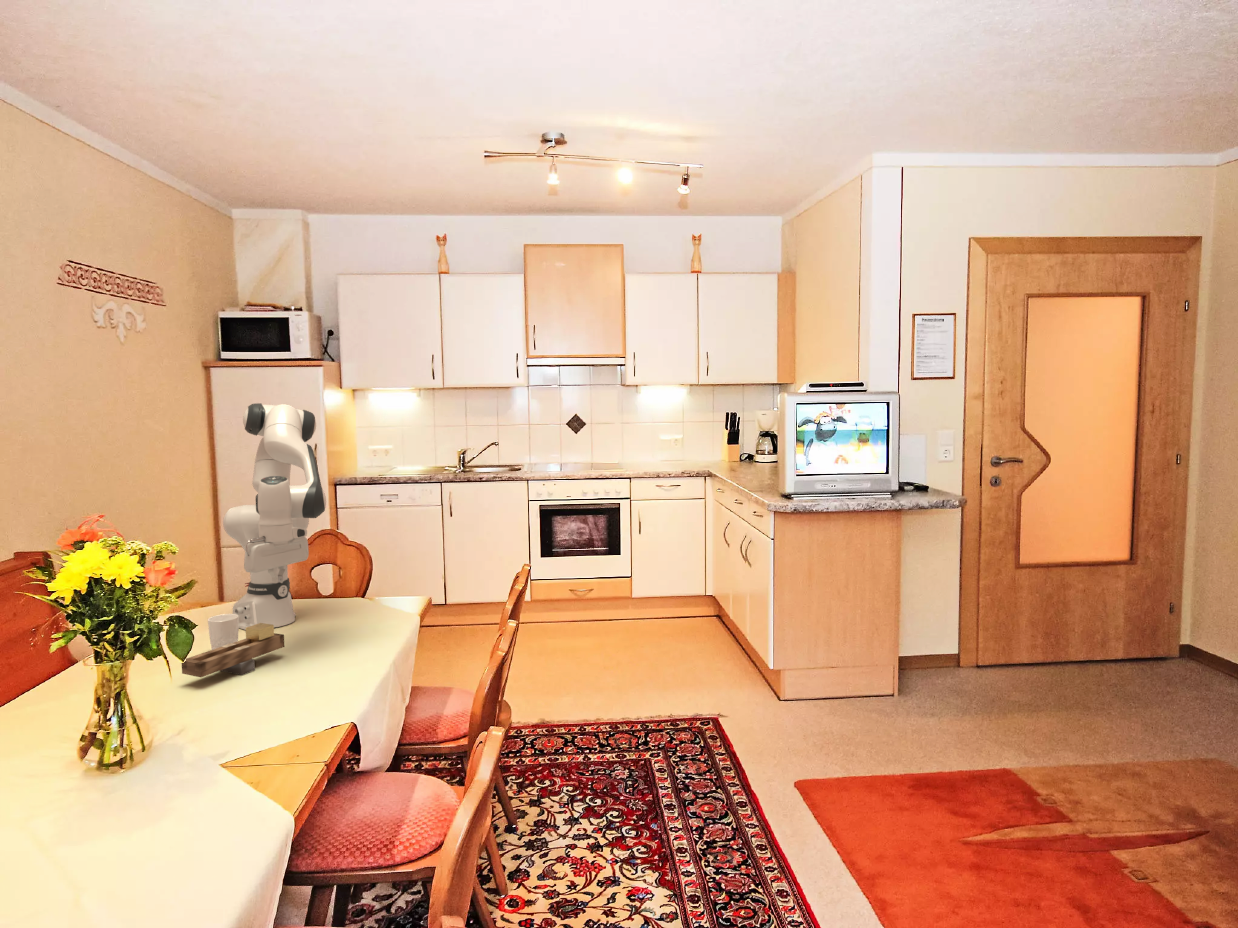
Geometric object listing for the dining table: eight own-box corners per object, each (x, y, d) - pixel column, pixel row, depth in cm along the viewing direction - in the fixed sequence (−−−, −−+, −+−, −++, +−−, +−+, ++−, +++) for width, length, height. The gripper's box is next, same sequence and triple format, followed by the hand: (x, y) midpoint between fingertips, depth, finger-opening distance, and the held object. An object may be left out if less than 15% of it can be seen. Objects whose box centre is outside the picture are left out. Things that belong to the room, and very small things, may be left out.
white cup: (245, 647, 225) (244, 613, 224) (229, 656, 217) (227, 621, 216) (220, 646, 226) (218, 613, 225) (203, 655, 218) (201, 621, 217)
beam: (204, 689, 192) (202, 663, 191) (180, 684, 196) (178, 659, 195) (287, 657, 216) (286, 634, 215) (264, 653, 219) (263, 630, 219)
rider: (259, 648, 209) (258, 629, 209) (246, 646, 211) (245, 627, 211) (274, 643, 214) (273, 624, 213) (261, 641, 216) (260, 622, 215)
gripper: (254, 540, 206) (256, 591, 206) (311, 529, 224) (313, 575, 225) (237, 539, 208) (239, 589, 209) (295, 528, 227) (296, 574, 228)
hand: (278, 582), depth 217 cm, fingers closed
